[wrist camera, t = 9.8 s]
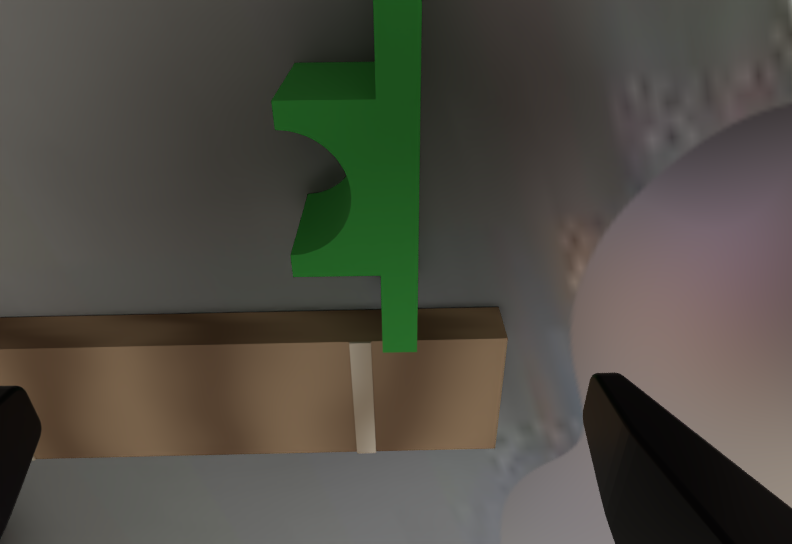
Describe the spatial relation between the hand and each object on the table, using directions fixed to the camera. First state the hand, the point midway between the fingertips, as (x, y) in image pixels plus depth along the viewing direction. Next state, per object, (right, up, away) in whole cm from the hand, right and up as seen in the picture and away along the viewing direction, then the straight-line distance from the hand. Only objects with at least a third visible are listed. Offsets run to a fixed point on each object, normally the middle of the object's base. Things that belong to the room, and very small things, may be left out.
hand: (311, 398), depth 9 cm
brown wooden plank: (-6, -2, +15) cm, 17 cm away
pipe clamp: (0, +7, +10) cm, 12 cm away
